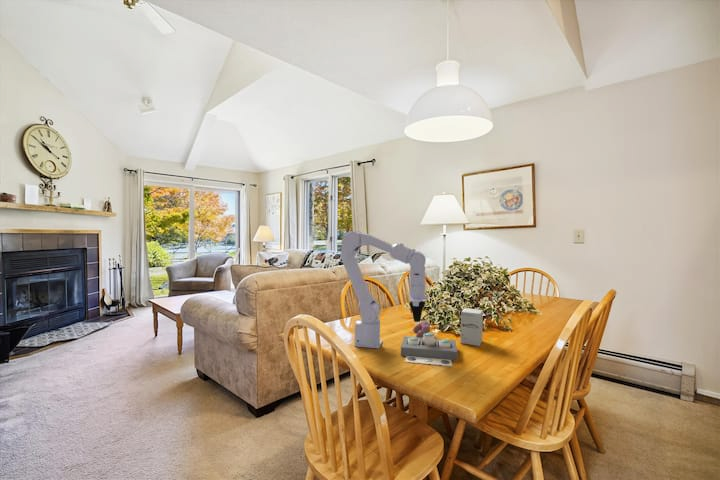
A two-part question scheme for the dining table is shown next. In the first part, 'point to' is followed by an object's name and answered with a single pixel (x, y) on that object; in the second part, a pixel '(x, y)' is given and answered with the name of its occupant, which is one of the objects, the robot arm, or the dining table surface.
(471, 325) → the supplement box
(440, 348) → the button board
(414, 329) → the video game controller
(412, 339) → the button left
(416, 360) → the card
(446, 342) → the button right
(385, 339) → the dining table surface
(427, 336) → the button middle
